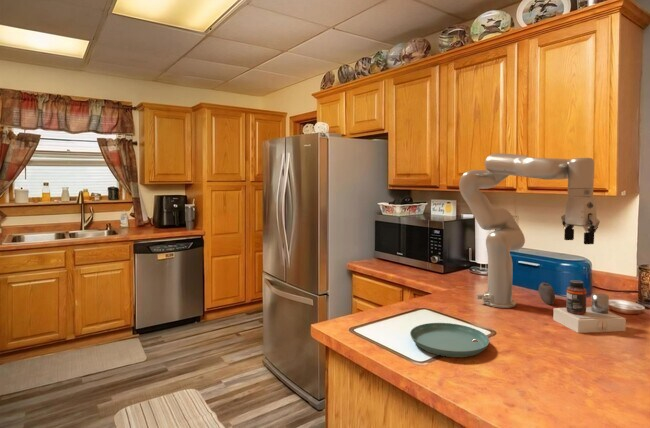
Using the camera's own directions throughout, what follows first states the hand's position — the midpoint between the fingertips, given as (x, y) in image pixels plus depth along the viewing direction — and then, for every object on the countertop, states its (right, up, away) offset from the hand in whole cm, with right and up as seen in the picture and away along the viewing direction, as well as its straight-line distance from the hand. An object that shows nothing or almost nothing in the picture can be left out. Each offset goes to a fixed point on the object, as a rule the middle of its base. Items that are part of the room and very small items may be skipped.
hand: (578, 242), depth 136 cm
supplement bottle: (0, -26, +2) cm, 26 cm away
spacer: (+9, -25, +3) cm, 27 cm away
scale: (+5, -30, +3) cm, 31 cm away
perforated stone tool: (+6, -28, +30) cm, 42 cm away
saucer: (-50, -33, -12) cm, 61 cm away
